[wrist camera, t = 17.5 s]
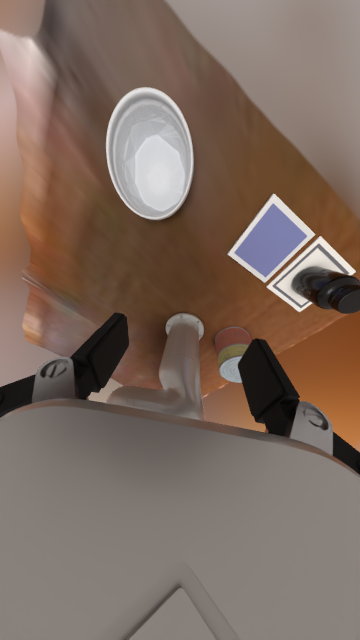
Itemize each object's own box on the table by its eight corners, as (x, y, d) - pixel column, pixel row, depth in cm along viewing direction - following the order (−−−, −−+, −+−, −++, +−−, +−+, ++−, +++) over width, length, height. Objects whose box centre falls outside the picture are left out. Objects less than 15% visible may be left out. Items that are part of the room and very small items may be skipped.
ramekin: (116, 192, 28) (95, 183, 22) (143, 94, 21) (122, 44, 15) (171, 235, 31) (165, 236, 25) (209, 162, 24) (213, 142, 18)
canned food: (208, 342, 48) (211, 372, 38) (230, 321, 42) (240, 349, 32) (232, 355, 50) (241, 387, 40) (257, 337, 44) (274, 368, 34)
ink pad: (312, 234, 28) (315, 234, 27) (263, 281, 34) (265, 283, 34) (271, 194, 25) (274, 193, 25) (226, 253, 32) (227, 254, 31)
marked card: (354, 271, 31) (356, 271, 31) (298, 311, 38) (299, 312, 37) (319, 236, 28) (320, 236, 28) (265, 286, 35) (266, 287, 35)
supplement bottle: (314, 294, 34) (362, 320, 24) (285, 293, 35) (321, 318, 25) (331, 265, 31) (395, 283, 21) (298, 265, 31) (346, 281, 21)
